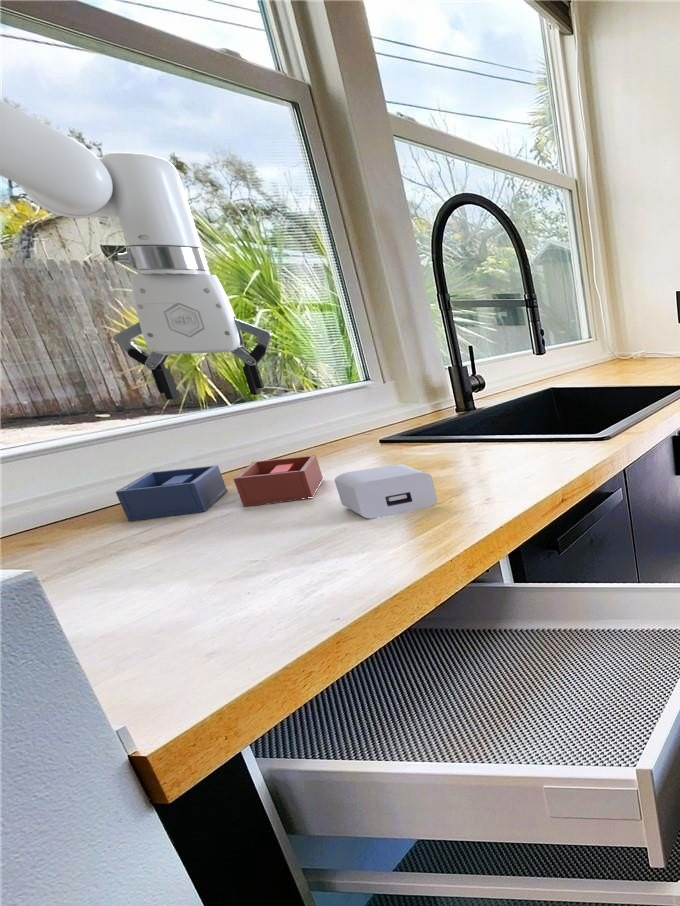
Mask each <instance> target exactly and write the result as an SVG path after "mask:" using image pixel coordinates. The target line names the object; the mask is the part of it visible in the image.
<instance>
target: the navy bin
mask: <svg viewBox="0 0 680 906" xmlns="http://www.w3.org/2000/svg"><path fill="white" fill-rule="evenodd" d="M191 474H193V475H194V478H195V480H193V481H192V482H190V483H183V484H174V485H165V486H161V485H162V484H164V483H165V482H167V481H168V480H170V479H171V478H173V477H174V476H182V475H191ZM227 492H228V489H227V486H226V483H225V480H224V478H223V475H222V473H221V470H220V467H219V465H218V464H217V465H208V466H199V467H198V466H197V467H189V468H188V467H187V468H179V469H169V470H161V471H160V470H159V471H152V472H151V471H150V472H147V473H145V474H143V475H142V476H140V477H139V478H137V479H135V480H134V481H132V482H130V483H128V484H127V485H125V486H123V487H121V488H119V489H118V490H116V491H115V494H116V497H117V499H118V501H119V504H120V506H121V508H122V510H123V512H124V515H125V517H126V519H127V522H134V521H143V520H151V519H157V518H158V519H159V518H165V517H175V516H181V515H190V514H191V515H192V514H198V513H205V512H207V511H208V510H210V508H211V507H212V506H213V505H214V504H215V503H216V502H217V501H218V500H220V499H221V498H222V497H223V496H224V495H225V494H226V493H227ZM221 496H222V497H221ZM220 497H221V498H220ZM219 498H220V499H219Z"/></svg>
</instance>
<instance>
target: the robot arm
mask: <svg viewBox="0 0 680 906" xmlns="http://www.w3.org/2000/svg"><path fill="white" fill-rule="evenodd" d="M0 176H1V177H3V178H5V179H7V180H9V181H11V182H13V183H15V184H17V185H19V186H20V187H21V189H22V191H23V192H24V193H25V195H26V196H27V197H28V199H30V200H32V202H34V203H35V204H36V205H38V206H39V207H41V208H42V209H44V210H46V211H48V212H50V213H52V214H54V215H58V216H61V217H65V218H69V219H70V218H71V219H92V218H93V219H94V218H107V217H108V218H110V217H111V218H112V217H117V219H118V221H119V224H120V227H121V230H122V233H123V236H124V239H125V241H126V244H127V247H126V249H127V250H126V251H125V252H123V253H119V252H118V253H117V254H116V256H117V260H118V262H119V263H120V265H123V266H126V265H128V266H130V267H132V268H133V269H134V270H136V273H132V274H129V281H130V289H131V294H132V299H133V303H134V308H135V311H136V316H137V320H138V322H136V323H134V324H132V325H131V326H128V327H127V328H125V329H123V330H121V331H119V332H117V333H115V334H114V335H113V336H112V339H113V341H114V342H115V343H116V344H117V345H118V346H119V347H120V348H121V349H122V350H123V351H125V352H126V353H127V356H129V357H130V358H132V359H133V360H135V361H137V362H138V363H140V364H141V365H143V366H144V367H145V368H147V369H148V370H150V371H151V375H152V376H153V379H154V382H155V385H156V387H157V390H158V393H159V394H163V395H164V397H165V400H166V401H169V400H170V401H171V400H175V399H178V398H179V397H180V395H179V392H178V389H177V387H176V384H175V381H174V378H173V375H172V372H171V369H169V368H168V367H166V365H165V363H166V362H167V361H168V359H169V358H170V356H171V355H188V354H189V355H190V354H191V355H192V354H194V355H195V354H219V353H231V354H233V355H234V356H236V357H237V358H238V359H240V360H241V361H242V362H243V366H242V371H243V373H244V378H245V380H246V383H247V387H248V390H249V393H250V395H252V396H258V395H261V394H262V391H261V389H264V388H265V387H264V382H263V378H262V376H261V372H260V369H259V363H260V362H261V361H262V359H263V358H264V357H265V356H266V354H267V353H268V351H269V347H270V345H271V344H270V343H271V341H272V336H273V335H272V332H270V331H268V330H266V329H265V328H264V329H263V328H261V327H258V326H256V325H253V324H250V323H248V322H245V321H243V320H240V319H237V316H236V315H235V312H234V309H233V307H232V305H231V302H230V300H229V298H228V295H227V293H226V291H225V289H224V287H223V285H222V283H221V282H220V280H219V278H218V276H217V275H216V274H211V272H210V269H209V265H208V263H207V259H206V257H205V252H204V250H203V248H202V243H201V241H200V237H199V234H198V231H197V227H196V224H195V222H194V218H193V215H192V211H191V208H190V206H189V202H188V199H187V196H186V192H185V189H184V186H183V183H182V180H181V177H180V174H179V172H178V170H177V168H176V167H175V165H173V163H171V161H169V160H167V159H166V158H163V157H159V156H156V155H151V154H146V153H138V152H121V151H120V152H119V151H116V152H109V153H105V154H104V155H102V156H101V157H98V156H97V155H96V154H95V153H94V152H92V151H91V149H89V148H88V147H86V146H84V145H83V144H82V143H80V142H79V141H77V140H76V139H74V138H73V137H70V136H68V135H67V134H65V133H63V132H61V131H60V130H58V129H56V128H54V127H52V126H50V125H48V124H46V123H44V122H42V121H41V120H39V119H37V118H35V117H33V116H31V115H30V114H27V113H26V112H24V111H21V110H19V109H18V108H16V107H13V105H11V104H8V103H6V102H5V101H2V100H0ZM242 332H244V333H246V334H249V335H251V336H254V337H256V339H257V341H256V342H257V343H256V346H255V347H254V348H253V349H252V350H251V351H250V350H248V349H247V348H245V347H244V346H245V341H244V336H243V333H242ZM141 336H142V337H143V339H144V343H145V345H146V346H147V348H148V349H149V350H150V351H151V353H150V354H149V353H147V352H145V351H144V350H142V349H140V348H139V347H138V346H137V344H135V343H134V340H135V339H137V338H139V337H141Z"/></svg>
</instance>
